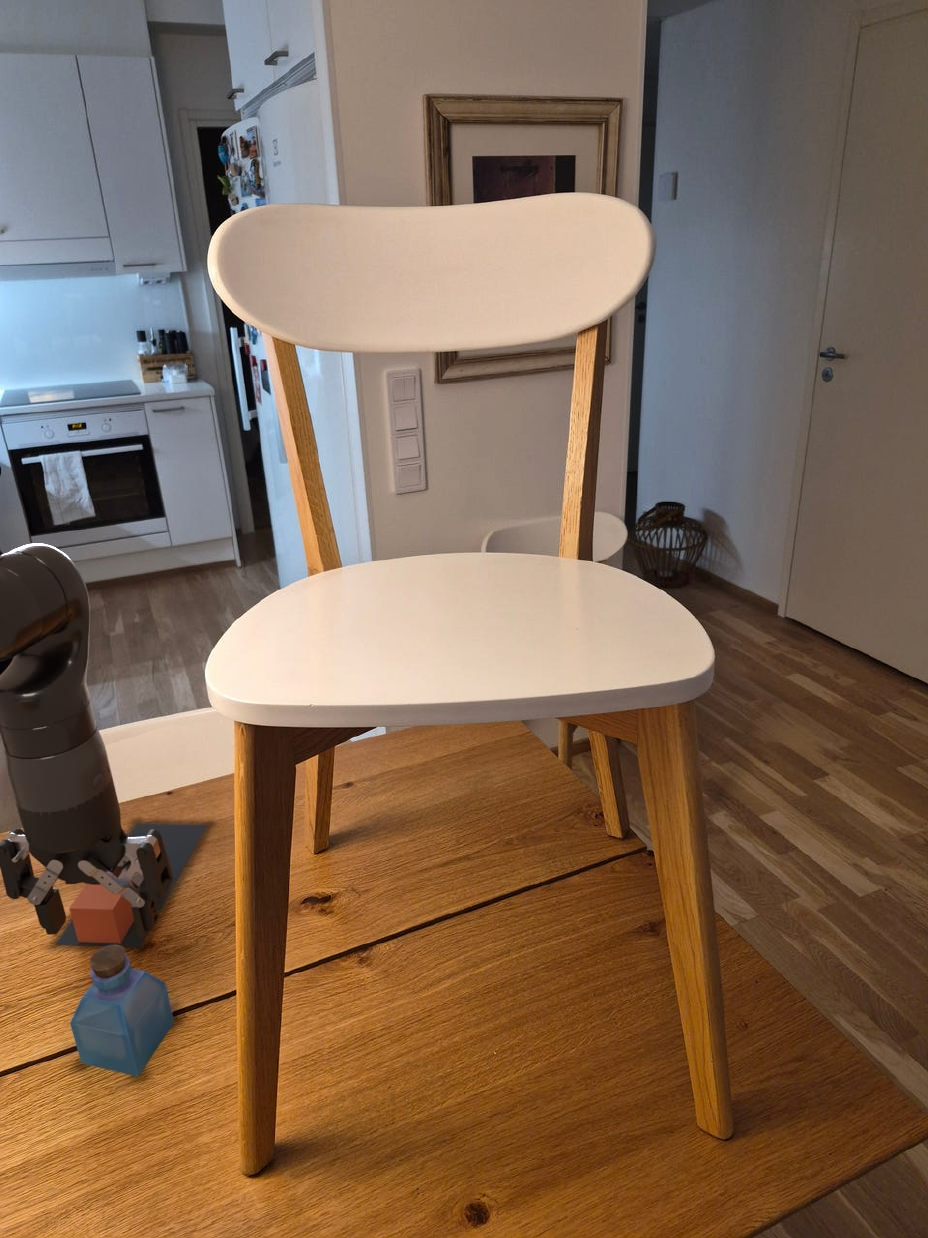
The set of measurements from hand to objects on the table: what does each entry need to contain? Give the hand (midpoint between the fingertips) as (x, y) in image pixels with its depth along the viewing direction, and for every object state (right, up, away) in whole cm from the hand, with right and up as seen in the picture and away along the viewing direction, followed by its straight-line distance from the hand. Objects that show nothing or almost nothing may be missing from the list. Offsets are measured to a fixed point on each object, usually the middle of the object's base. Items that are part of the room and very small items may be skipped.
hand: (102, 929), depth 76 cm
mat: (-7, -5, +28) cm, 29 cm away
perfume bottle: (0, -14, +6) cm, 16 cm away
